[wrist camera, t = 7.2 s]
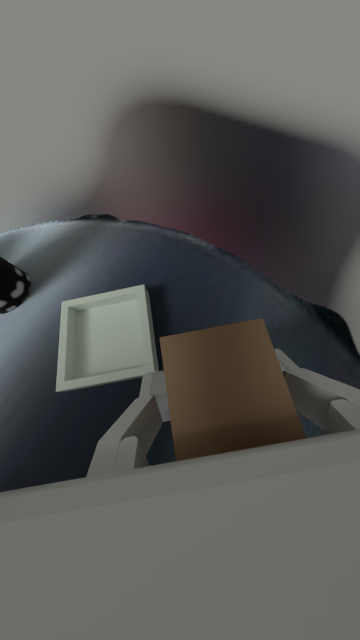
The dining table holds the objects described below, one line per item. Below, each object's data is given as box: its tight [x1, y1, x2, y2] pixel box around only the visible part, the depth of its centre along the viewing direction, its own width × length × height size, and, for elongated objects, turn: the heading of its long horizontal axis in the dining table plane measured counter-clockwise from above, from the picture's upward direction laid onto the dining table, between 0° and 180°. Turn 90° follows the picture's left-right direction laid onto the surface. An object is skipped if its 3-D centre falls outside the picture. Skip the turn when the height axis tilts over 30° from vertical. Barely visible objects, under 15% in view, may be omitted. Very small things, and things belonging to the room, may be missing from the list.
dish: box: [56, 285, 159, 392], centre depth 24 cm, size 12×12×3 cm
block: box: [159, 318, 306, 461], centre depth 10 cm, size 4×4×8 cm
